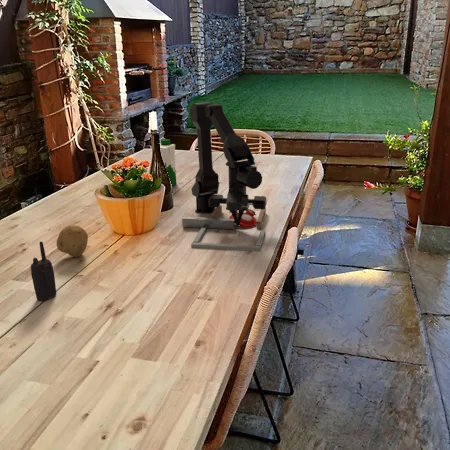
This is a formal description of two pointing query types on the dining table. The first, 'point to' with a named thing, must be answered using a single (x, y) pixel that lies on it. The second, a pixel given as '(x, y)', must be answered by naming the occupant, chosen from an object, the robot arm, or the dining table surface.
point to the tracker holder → (247, 219)
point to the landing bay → (227, 246)
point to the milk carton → (169, 159)
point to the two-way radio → (43, 276)
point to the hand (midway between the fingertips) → (237, 225)
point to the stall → (259, 220)
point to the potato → (72, 240)
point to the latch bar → (208, 222)
